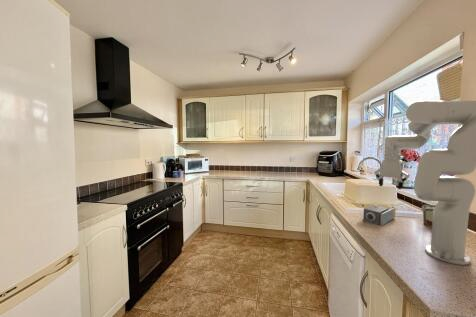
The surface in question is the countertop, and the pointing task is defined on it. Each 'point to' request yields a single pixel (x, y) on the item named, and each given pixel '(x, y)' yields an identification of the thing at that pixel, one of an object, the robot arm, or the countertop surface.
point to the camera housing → (374, 214)
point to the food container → (428, 214)
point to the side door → (387, 216)
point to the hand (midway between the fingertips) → (390, 187)
